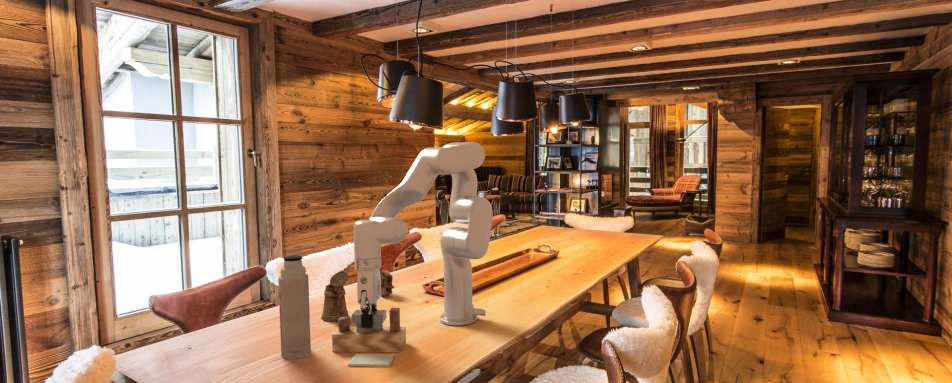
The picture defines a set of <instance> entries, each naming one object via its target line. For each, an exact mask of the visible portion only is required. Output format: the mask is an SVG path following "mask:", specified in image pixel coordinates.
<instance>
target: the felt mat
mask: <svg viewBox="0 0 952 383" xmlns="http://www.w3.org/2000/svg"><path fill="white" fill-rule="evenodd" d="M394 357H395V354H394V353H355V354H353V356H352V358H351V359H350V361H349V362H348V363H347V367H376V368H377V367H380V368H381V367H383V368H385V367H386V368H389V367H390V365H391V363H392V361H393V359H394Z"/></svg>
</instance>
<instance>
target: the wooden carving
mask: <svg viewBox="0 0 952 383" xmlns="http://www.w3.org/2000/svg"><path fill="white" fill-rule="evenodd" d="M380 278H381V293H382V294H381V297H383V296H385V297H386V296H387V297H388V296H391V295H392V294H393V289H395V285H393V278H394V277H393V275H392V274H391V273H390V271H388V270H386V269H385V270H380Z"/></svg>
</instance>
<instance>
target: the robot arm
mask: <svg viewBox="0 0 952 383" xmlns="http://www.w3.org/2000/svg"><path fill="white" fill-rule="evenodd" d="M485 159H486V151H485V149H484V147H483V146H482V144H480V143H478V142H475V141H464V142H463V141H460V142H459V141H458V142H457V141H456V142H448V143H447V144H445V145H443V146H440V147H438V146H437V147H426V148H424V149H422V150H421V151H420V152H419V154H418V155H417V157H416V158H415V160H414V161H413V163H412V165H411V167H410V168H409V170H408V171H407V173H406V175H405V176H404V178H403V179H402V181H401V183H399V185H398V186H396V187H395V188H394V189H392V190H391V191H390V192H389V193H388V194H387V195H386V196H385V197H383V198H382V199H381V201H380V202H379V203H378V204H377V205H376V207H375V208H374V210H373V212H372V213H371V215H370V216H369V218H368V219H365V220H364V219H363V220H361V219H360V220H357V221H356V222H355V223H354V225H353V249H354V254H353V255H354V270H356V271H357V276H356V277H357V281H356V293H357V295H356V296H357V303H358V304H359V310H361V327H362V328H372V327H373V314H371V310H378V307H377V306H378V303H377V302H378V301H379V300H380V299H381V298H382V296H381V294H382V293H381V278H380V269H382V253H381V252H382V247H381V245H382V244H389V245H390V244H398V243H401V242H403V241H404V240H406V238H407V237H408V235H409V234H408V233H409V227H408V225H407V223H406V222H405V221H403V220H401V219H399V218H396V217H397V215H398V214H399V213H400V212H401V211H403V210H404V209H405V208H407V207H409V206H412V205H415V204H418V203H419V202H420V201H422V200H423V199H425V197H427V194H428V193H429V191H430V189H431V187H432V186H433V184H434V182H435V181H436V179H437V177H438V176H439V175H447V176H448V175H451V178H452V186H451V193H450V194H451V195H450V201H449V207H448V208H449V209H448V210H449V211H448V215H449V218H450V220H451V221H452V222H454V223H458V224H461V225H467V228H466V227H460V226H459V227H457V226H453V227H452V226H451V227H449V228H447V229H445V230H444V231H443V232H442V234H441V235H440V236H441V237H440V240H439V241H440V243H439V244H440V249H441V254H442V260H443V261H442V262H443V296H444V297H443V300H444V302H443V304H444V306H443V307H444V312H443V313H441V315H440V316H439V321H440V322H441V323H443V324H445V325H448V326H466V325H471V324H473V323H476V322H477V320H478V316H481V317H482V316H483V317H485V316H486V314H487V312H486V311H487V310H486V309H483V308H476V307H475V306H474V305H475V304H473V268H472V262H471V260H481V259H482V258H484V257H485V255H486V254H487V252H488V249H489V245H490V239H491V233H492V232H491V231H492V224H493V216H494V212H493V206H492V204H491V203H490V201H489V200H488V199H487V198H485V197H482V196H478V195H477V194H478V178H477V173H476V172H475V170H474V169H477V168H479V167H480V166H482V164H484V162H485Z"/></svg>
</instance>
